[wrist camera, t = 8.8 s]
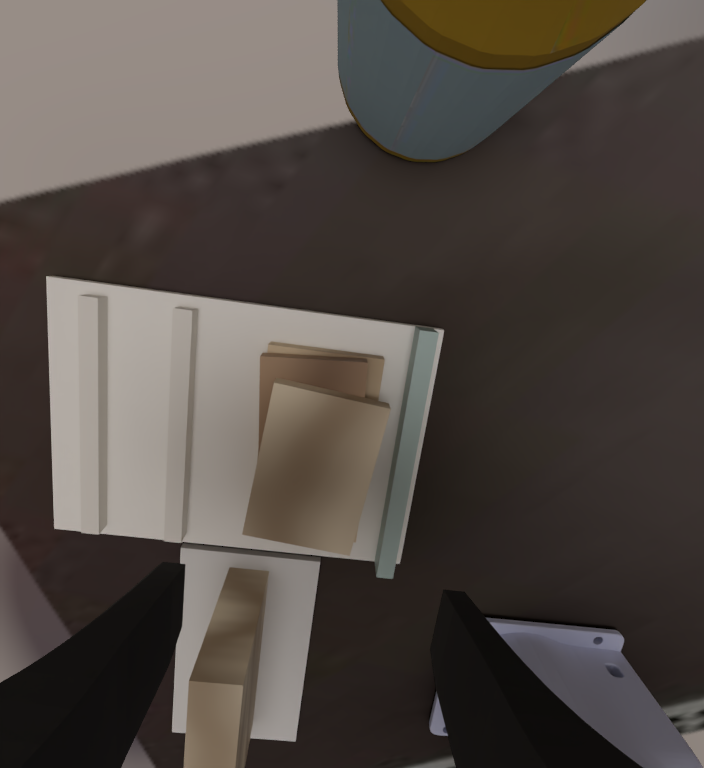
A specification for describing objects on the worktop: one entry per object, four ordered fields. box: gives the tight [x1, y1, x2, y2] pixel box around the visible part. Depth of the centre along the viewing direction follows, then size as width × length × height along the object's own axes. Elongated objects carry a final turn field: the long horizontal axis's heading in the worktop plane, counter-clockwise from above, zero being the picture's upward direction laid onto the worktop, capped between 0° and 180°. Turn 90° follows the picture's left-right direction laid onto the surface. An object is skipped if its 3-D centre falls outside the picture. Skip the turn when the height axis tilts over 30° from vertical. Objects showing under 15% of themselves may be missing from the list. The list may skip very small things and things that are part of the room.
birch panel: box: [184, 567, 269, 768], centre depth 21 cm, size 2×10×6 cm, turn 172°
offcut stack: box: [242, 341, 391, 556], centre depth 20 cm, size 6×9×2 cm, turn 172°
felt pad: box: [172, 543, 321, 741], centre depth 25 cm, size 7×12×1 cm, turn 172°
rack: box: [46, 276, 444, 579], centre depth 21 cm, size 17×12×2 cm
